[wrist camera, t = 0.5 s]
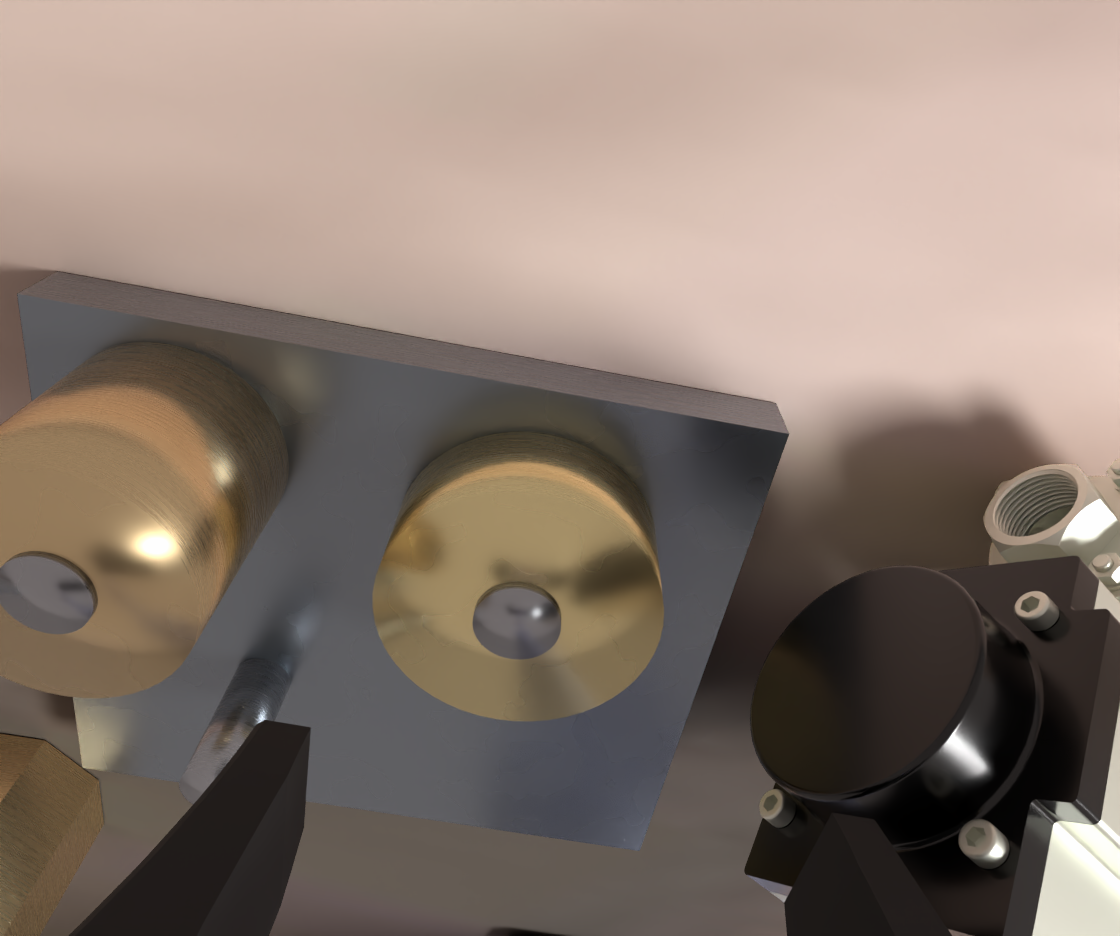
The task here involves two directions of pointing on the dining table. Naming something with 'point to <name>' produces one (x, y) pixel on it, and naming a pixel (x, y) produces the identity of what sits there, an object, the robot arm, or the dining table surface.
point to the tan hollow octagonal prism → (41, 830)
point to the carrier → (368, 556)
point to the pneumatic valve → (965, 718)
